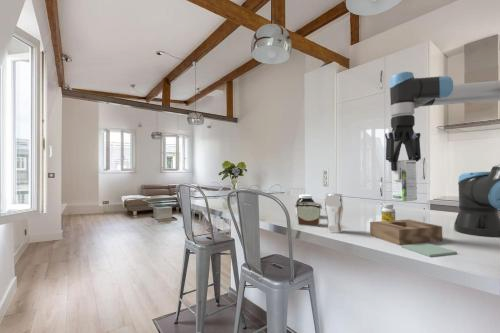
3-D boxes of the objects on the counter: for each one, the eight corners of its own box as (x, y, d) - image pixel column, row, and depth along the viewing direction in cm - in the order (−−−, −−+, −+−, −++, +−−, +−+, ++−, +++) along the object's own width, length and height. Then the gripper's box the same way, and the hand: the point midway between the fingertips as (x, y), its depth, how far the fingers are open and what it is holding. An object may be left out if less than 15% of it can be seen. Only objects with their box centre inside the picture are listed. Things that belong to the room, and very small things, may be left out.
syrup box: (391, 199, 100) (390, 160, 100) (404, 198, 101) (403, 160, 101) (404, 201, 94) (403, 160, 94) (417, 200, 96) (416, 159, 96)
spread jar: (297, 218, 139) (297, 195, 139) (293, 214, 150) (293, 194, 150) (320, 218, 139) (320, 195, 139) (315, 214, 150) (314, 193, 150)
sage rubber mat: (426, 244, 89) (426, 242, 89) (456, 253, 79) (456, 251, 79) (401, 247, 86) (401, 245, 86) (429, 256, 77) (429, 254, 77)
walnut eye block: (409, 231, 106) (408, 219, 107) (442, 240, 93) (442, 226, 93) (370, 235, 102) (370, 222, 102) (399, 245, 88) (399, 230, 88)
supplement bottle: (398, 226, 117) (397, 204, 117) (389, 227, 115) (389, 205, 115) (387, 224, 122) (386, 203, 122) (379, 225, 120) (378, 203, 120)
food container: (326, 224, 122) (325, 202, 123) (321, 227, 117) (321, 204, 117) (300, 222, 129) (300, 201, 129) (295, 224, 124) (295, 202, 124)
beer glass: (344, 233, 105) (344, 195, 105) (326, 232, 107) (325, 195, 107) (342, 229, 112) (341, 193, 112) (325, 229, 114) (324, 193, 114)
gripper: (414, 119, 104) (416, 178, 104) (373, 117, 99) (374, 180, 99) (432, 115, 97) (434, 179, 96) (388, 113, 92) (390, 180, 92)
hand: (403, 179), depth 98 cm, fingers closed on syrup box, 6 cm apart
